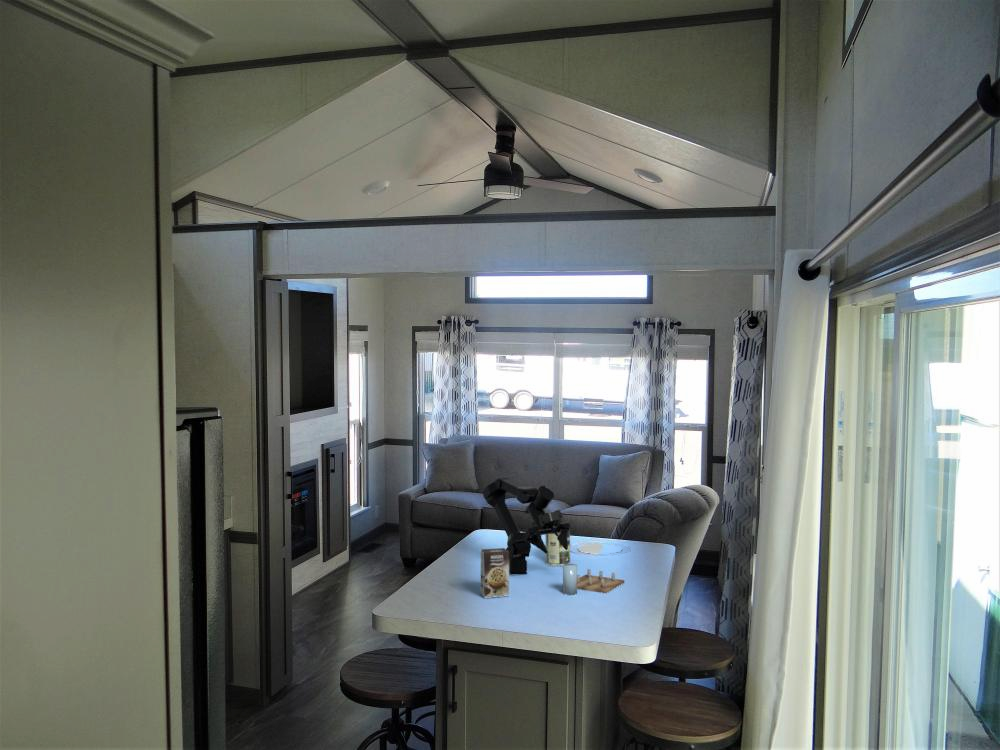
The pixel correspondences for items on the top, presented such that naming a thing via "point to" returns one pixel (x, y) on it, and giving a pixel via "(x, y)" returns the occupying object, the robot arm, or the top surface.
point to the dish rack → (597, 582)
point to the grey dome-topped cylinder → (570, 579)
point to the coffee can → (557, 550)
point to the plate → (589, 548)
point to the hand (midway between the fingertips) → (557, 551)
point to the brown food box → (494, 572)
